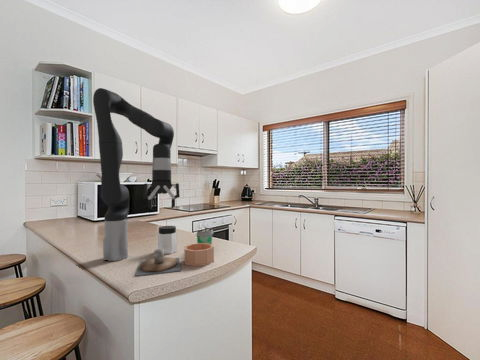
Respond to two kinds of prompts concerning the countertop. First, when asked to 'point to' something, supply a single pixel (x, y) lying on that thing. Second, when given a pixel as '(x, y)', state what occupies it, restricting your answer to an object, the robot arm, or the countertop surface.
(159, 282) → the countertop surface
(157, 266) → the lid
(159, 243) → the jar
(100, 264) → the countertop surface
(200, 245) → the bowl
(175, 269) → the mat
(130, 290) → the countertop surface
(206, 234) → the food container
